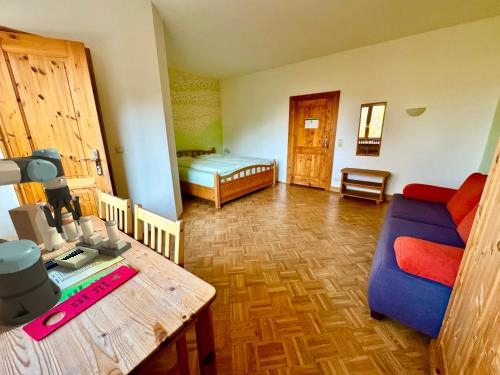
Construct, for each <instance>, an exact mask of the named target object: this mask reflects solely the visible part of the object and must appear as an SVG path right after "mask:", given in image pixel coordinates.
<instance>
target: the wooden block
mask: <svg viewBox="0 0 500 375" xmlns="http://www.w3.org/2000/svg"><path fill="white" fill-rule="evenodd" d="M36 203H37V202H36ZM36 203H29V202H28V203H26V204H23V205H21V206H17V207H14V208H11V209H8V210H7V212H8V215H9V217H10V219H11V222H12V226H13V227H14V231H15V232H16V235H17V237H18V241H19V240H31V241H33V242H35V243H36V244H37V246H39V245H41V244H44V241H43V237H42V235H41V233H40V231H39V229H38V226H37V223H36V221H35V218H36V215H37V212H38V209H37V205H36Z"/></svg>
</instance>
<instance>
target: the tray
mask: <svg viewBox="0 0 500 375" xmlns="http://www.w3.org/2000/svg"><path fill="white" fill-rule="evenodd" d="M78 249H81V250H83V251H84V252H83V253H80V254H78V255H76V256H74V257H71V258H69V259H67V260H61V259H63V258H65V257H66V256H68V255H69V254H71V253H72V252H74V251H76V250H78ZM100 256H101V255H100V254H99V252H98V250H94V249H90V248H85V247H80V246H78V247H76V246H75V247H74V248H72V249H70V250H68V251H67V252H64V253H63V254H61V255H59V256H57V257H55V258H53V261H54V264H55V263H57V264H58V265H57V266H60V267H63V268H68V269H71V270H76V271H77V270H79V269H80V268H82V267H83V266H85V265H87V264H88V263H90V262H91V261H93V260H95V259H97V258H98V257H100Z"/></svg>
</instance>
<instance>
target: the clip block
mask: <svg viewBox="0 0 500 375" xmlns="http://www.w3.org/2000/svg"><path fill="white" fill-rule="evenodd" d="M78 236H79V239H78V240H79V242H76V243H75V244H74V245H75V248H76V247H78V246H80V247H85V248H90V249H94V250H98V252H99V255H100V256H101V255H102V256H106V257H110V258H114V259H117V258H118V257H120V256H121V255H123V254H124V253H126V252H127V251H129V250H131V248H132V242H131V241H127V240H126V238H125V237H124V238H123V237H121V238H120V240H119V241H117V242H115V246H116V248H114V249H112V248H110V242H109V238H108V236H107V237H104V236H103V234H101V233H94V235H93V236H91V237H89V242H90V243H85V241H84V236H83V233H80V235H79V234H78Z"/></svg>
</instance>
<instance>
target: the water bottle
mask: <svg viewBox="0 0 500 375" xmlns="http://www.w3.org/2000/svg"><path fill="white" fill-rule="evenodd" d="M45 204H46V202H45V201H40V202H36V205H37V209H38V212H37V215H36V218H35V221H36V223H37V226H38V229H39V231H40V233H41V235H42V237H43V241H44V242H43V246H44V248H45V249H46V250H47V251H49V252H52V251H53V250H57V251H58V250H59V249H61V247H63V246H64V242H65V241H64V239H62V237H61V234H59V233H57V230H56V227H55V228H54V227H49V225H48V222H47V220H46V217H45V214H44V211H43V210H42V209H41V208H40V206H43V205H45ZM52 215H53V218H54V212H52Z"/></svg>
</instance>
